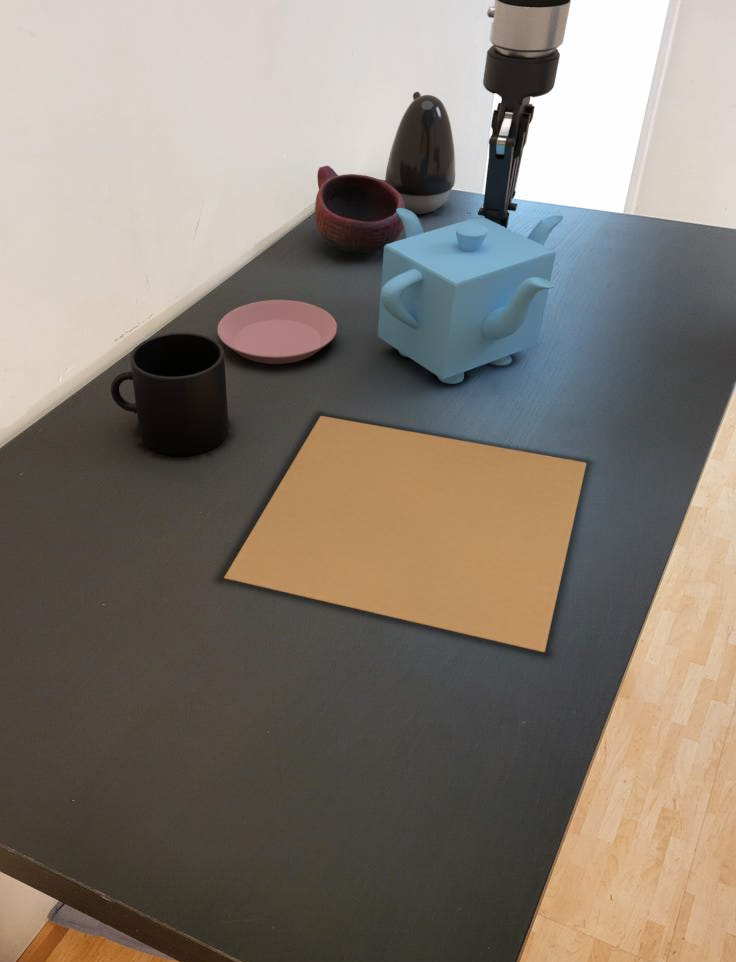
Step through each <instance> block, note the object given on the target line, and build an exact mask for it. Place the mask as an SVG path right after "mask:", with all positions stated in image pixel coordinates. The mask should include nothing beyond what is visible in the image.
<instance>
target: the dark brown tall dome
mask: <svg viewBox="0 0 736 962" xmlns="http://www.w3.org/2000/svg"><path fill="white" fill-rule="evenodd" d="M412 99H413V100H412V101H411V103H410V104H409V105H408V106H407V108H406V110H405V112H404V113H403V115H402V118H401V120H400V122H399V123H398V127H397V129H396V132H395V135H394V138H393V141H392V145H391V149H390V152H389V157H388V159H387V160H388V161H387V165H386V170H385V177H384V178H385V179H384V182H386V183H388V184H389V185H391V186H392V187H393V188H394V189H395V190H397V191H398V193H399V194H400V195H401V196H402V199H403V201H404V205H405V209H407V210H409V211H411V212H413V213H414V214H415V215H424V214H425V215H426V214H429V213H432V212H434V211H436V210H437V209H439V208H441V207H442V206H443V205H444V204H445V203H446V201H447V199H448V198H449V196H450V194H451V191H452V189H453V188H454V187H455V183H456V154H455V153H456V152H455V143H454V136H453V129H452V125H451V120H450V117H449V114H448V111H447V109H446V106H445V104H444V103H443V102H442V101H441V99H440V98H438V97H437V96H434V95H431V94H424V95H421V92H419V91H415V92H414V93H413V94H412Z"/></svg>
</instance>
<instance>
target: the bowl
mask: <svg viewBox="0 0 736 962" xmlns="http://www.w3.org/2000/svg"><path fill="white" fill-rule="evenodd" d="M316 178H317V187H318V191H317V194H316V198H315V204H314V206H315V207H314V222H315V227H316V229H317V232H318V233H319V235H320V236H321V238H322V239H323V240H324V241H325V242H326V243H327V244H329V245H330V246H333V248H336V249H339V250H342V251H345V252H349V253H356V254H363V253H364V254H365V253H371V252H375V251H379V250H382V249H384V246H385V245H386V244H389V243H393V242H396V241H397V239H398V238H399V237H400V236H401V233H402V232H403V230H404V229H405V228H404V225H403V222H402V220H401V219H400V217H399V215H398V214H397V212H396V209H398V208H404V209H405V205H404V201H403V199H402V196H401V195H400V194H399V193H398V191H397V190H395V189H394V188H393V187H392V186H391V185H389V184H388V183H386V182H385V180H381V179H379V178H376V177H373V176H370V175H365V174H354V173H346V174H340V175H339V174H338V173H337V172H335V170H334V169H333V168H332V167H331V166H330V165H322V166H320V167H319V168H318V170H317V176H316Z"/></svg>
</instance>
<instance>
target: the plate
mask: <svg viewBox="0 0 736 962" xmlns="http://www.w3.org/2000/svg"><path fill="white" fill-rule="evenodd" d="M337 333H338V324H337V322H336V319H335V318H334V317H333V316H332V315H331V314H330V313H329V312H328V311H327V310H325V309H323V308H321V307H318V306H317V305H314V304H311V303H307V302H305V301H304V302H303V301H298V300H291V299H289V300H288V299H270V300H259V301H256V302H255V301H254V302H252V303H248V304H244V305H241V306H238V307H237V308H234V309H232V310H230V311H229V312H228V313H226V314H225V315H223V317H222V318H221V320H220V321H219V322H218V325H217V336H218V337H219V340H221V342H222V343H223V344H224V345H226V346H227V347H228V348H230V349H231V350H232V351H234V352H235V353H236V354H238V355H239V356H241V357H243V358H244V359H247V360H249V361H252V362H255V363H259V364H261V363H262V364H266V365H269V364H270V365H283V364H284V365H285V364H292V363H297V362H300V361H303V360H306V359H308V358H310V357H312V356H314V355H315V354H317V353H318V352H319V351H320V350H322V349H323V348H324V347H326V346H327V345H329V343H331V342H332V341H333V339H334V338H335V337H336V335H337Z"/></svg>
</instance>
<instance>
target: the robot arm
mask: <svg viewBox="0 0 736 962" xmlns="http://www.w3.org/2000/svg"><path fill="white" fill-rule="evenodd" d="M571 2H572V1H571V0H494V5H493V6H489V7H488V9H487V11H486V16H487V17H488V18H490V19H493V21H492V22H491V25H490V33H489V42H490V43H491V45H492V46H490V47H489V49H488V50H487V51H486V57H485V65H484V73H483V80H482V84H483V87H484V89H485V90H486V91H487V92H489V93H491V94H493V95H495V94H496V95H498V96H499V97H500V98H501V101H500V102H498V103H497V108H496V109H493V112H492V116H491V117H492V118H491V124H490V127H491V130H492V132H491V135H490V138H489V139H488V161H487V169H486V178H485V179H486V180H485V185H484V186H485V187H484V197H483V205H482V207H480V208H479V210H478V211H477V216H482V217H484V218H486V219H488V220H490V221H493V222H495V223H497V224H499V225H501V226H503V227H506V228H508V225H509V219H510V211H511V212H516V211H517V208H518V203H514V202H513V201H512V200H513V199H514V198H515V196H516V193H517V192H516V188H517V183H518V177H519V172H520V168H521V163H522V158H523V153H524V148H525V146H526V144H527V141H528V134H529V129H530V124H531V122H533V119H534V114H535V108H536V107H535V105H533V103H530V102H531V98H537V97H542V96H545V95H547V94H548V93H550V92H551V91H552V90H553V89H554V87H555V84H556V79H557V73H558V67H559V63H560V56H561V53H560V52H559V50H558V48H559V47H560V46H561V45H562V44H563V43H564V38H565V33H566V28H567V23H568V17H569V11H570V8H571V7H570V6H571Z"/></svg>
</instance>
